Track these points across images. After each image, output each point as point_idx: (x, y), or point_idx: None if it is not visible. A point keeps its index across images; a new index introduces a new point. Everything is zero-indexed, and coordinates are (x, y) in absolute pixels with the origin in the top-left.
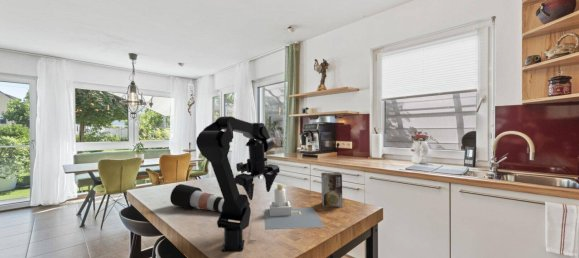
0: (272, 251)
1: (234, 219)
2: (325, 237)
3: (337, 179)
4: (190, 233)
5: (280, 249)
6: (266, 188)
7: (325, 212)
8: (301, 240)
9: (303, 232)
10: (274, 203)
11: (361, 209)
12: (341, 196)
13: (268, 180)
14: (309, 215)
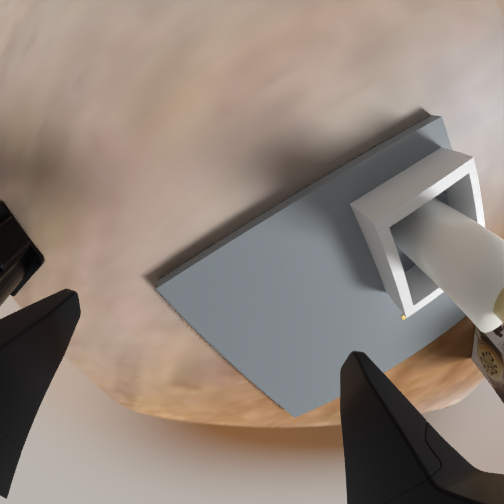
0: (74, 361)
1: None
2: (241, 422)
3: None
4: (6, 9)
5: (97, 372)
6: (360, 380)
7: (446, 344)
8: (184, 395)
9: (246, 381)
10: (439, 219)
11: (459, 387)
12: (489, 382)
13: (376, 493)
14: (394, 346)
